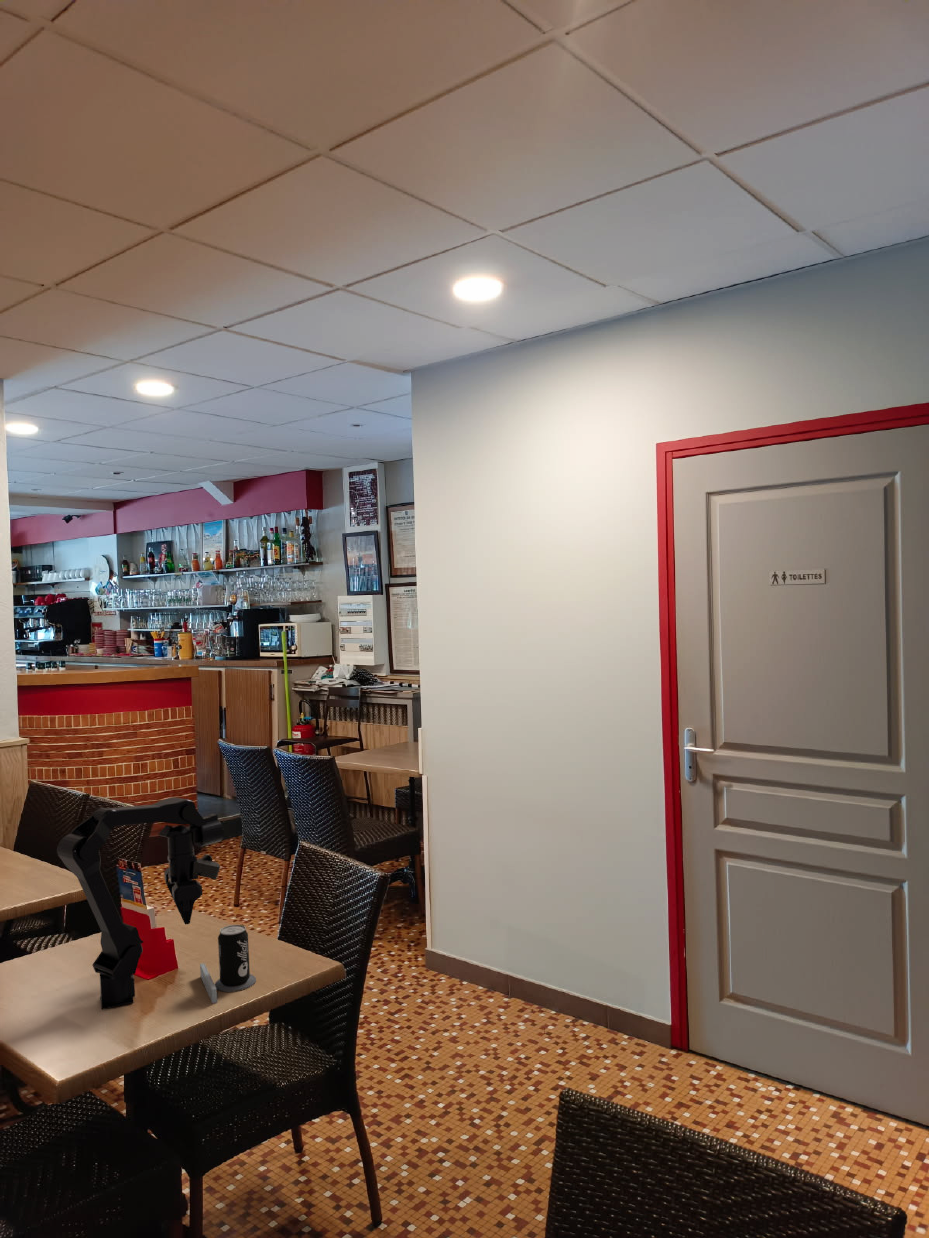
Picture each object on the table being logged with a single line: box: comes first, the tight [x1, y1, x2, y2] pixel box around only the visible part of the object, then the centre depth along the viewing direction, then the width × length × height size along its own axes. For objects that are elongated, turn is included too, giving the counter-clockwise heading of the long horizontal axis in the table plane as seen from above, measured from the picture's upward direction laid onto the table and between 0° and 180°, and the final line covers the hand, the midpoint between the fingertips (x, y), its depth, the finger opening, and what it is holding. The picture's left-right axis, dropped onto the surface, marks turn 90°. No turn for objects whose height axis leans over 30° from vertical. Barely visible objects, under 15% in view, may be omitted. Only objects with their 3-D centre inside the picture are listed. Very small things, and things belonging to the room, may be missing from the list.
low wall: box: [199, 962, 218, 1004], centre depth 202 cm, size 1×16×3 cm, turn 25°
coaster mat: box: [214, 974, 257, 993], centre depth 204 cm, size 9×9×1 cm
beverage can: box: [217, 924, 250, 987], centre depth 204 cm, size 7×7×12 cm
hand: (184, 917), depth 211 cm, fingers open, 9 cm apart
